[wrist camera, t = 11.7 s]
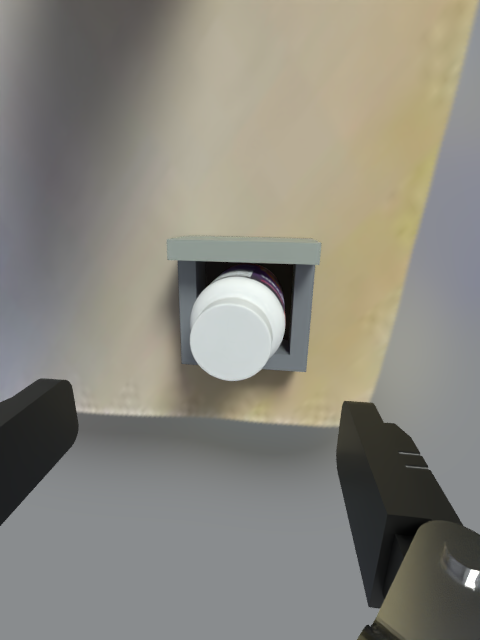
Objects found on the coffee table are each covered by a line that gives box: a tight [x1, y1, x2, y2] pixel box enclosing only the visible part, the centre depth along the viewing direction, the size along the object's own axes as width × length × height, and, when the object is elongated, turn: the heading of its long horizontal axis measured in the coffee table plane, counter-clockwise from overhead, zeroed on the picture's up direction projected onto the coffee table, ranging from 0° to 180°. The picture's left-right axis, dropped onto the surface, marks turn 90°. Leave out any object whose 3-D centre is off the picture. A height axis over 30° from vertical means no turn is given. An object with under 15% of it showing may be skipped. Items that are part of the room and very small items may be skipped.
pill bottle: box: [190, 263, 285, 381], centre depth 20 cm, size 5×5×10 cm
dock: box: [167, 236, 321, 372], centre depth 22 cm, size 9×9×5 cm
